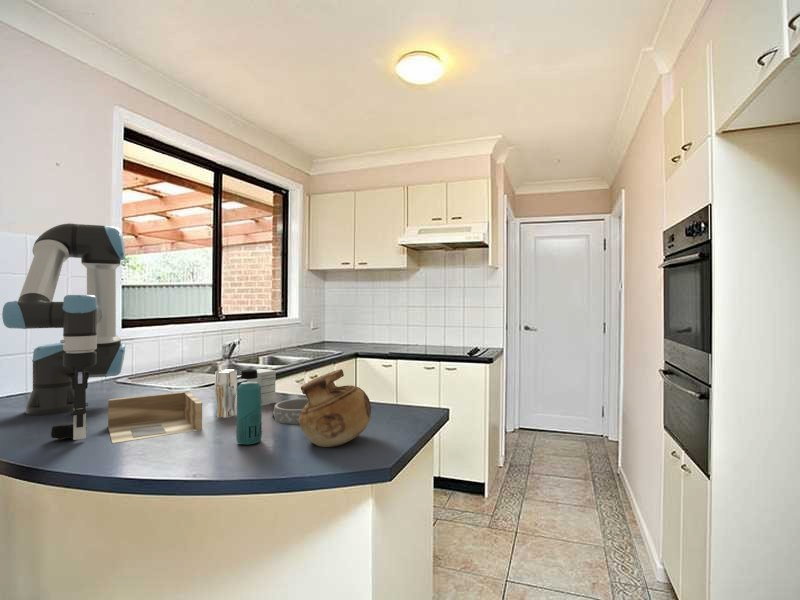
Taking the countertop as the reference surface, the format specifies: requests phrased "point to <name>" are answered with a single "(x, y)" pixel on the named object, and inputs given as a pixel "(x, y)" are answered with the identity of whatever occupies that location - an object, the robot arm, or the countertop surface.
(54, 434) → the tape measure
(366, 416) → the clay pot
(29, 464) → the countertop surface
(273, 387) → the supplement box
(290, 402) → the dog bowl
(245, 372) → the beverage bottle
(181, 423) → the corner tray
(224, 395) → the white piece
